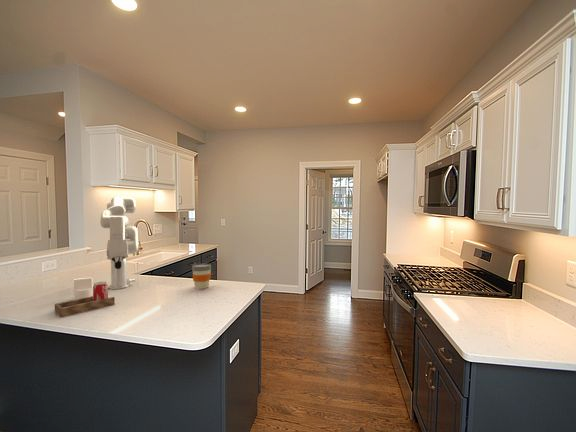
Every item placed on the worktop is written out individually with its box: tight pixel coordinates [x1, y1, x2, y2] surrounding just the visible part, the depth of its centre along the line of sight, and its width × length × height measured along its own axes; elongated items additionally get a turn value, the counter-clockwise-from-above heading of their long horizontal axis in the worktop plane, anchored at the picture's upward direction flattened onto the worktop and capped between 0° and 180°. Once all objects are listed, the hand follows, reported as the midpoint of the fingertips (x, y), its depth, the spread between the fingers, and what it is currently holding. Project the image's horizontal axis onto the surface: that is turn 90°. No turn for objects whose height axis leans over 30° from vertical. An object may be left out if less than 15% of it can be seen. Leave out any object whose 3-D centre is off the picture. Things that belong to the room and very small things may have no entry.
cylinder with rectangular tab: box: [73, 276, 94, 300], centre depth 166 cm, size 9×9×12 cm
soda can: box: [93, 281, 109, 301], centre depth 156 cm, size 7×7×12 cm
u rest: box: [54, 296, 116, 318], centre depth 150 cm, size 24×12×4 cm, turn 140°
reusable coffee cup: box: [191, 263, 212, 290], centre depth 190 cm, size 13×13×15 cm
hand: (118, 268), depth 162 cm, fingers closed
